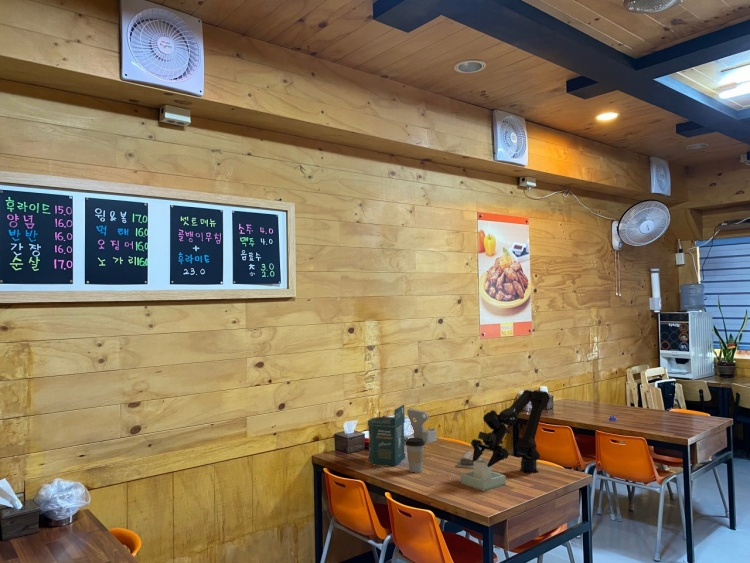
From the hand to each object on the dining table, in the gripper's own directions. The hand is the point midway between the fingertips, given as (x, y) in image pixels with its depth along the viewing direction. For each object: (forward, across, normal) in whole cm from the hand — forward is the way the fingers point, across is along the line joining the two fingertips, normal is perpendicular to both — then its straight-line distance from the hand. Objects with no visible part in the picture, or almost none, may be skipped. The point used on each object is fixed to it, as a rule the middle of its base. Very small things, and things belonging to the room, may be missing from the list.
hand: (480, 464), depth 252 cm
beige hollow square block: (+5, 0, +7) cm, 8 cm away
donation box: (+15, -56, -2) cm, 58 cm away
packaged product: (-7, -27, +21) cm, 35 cm away
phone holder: (-16, -80, +29) cm, 87 cm away
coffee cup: (+14, -33, -1) cm, 36 cm away
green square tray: (+5, 0, +7) cm, 9 cm away
